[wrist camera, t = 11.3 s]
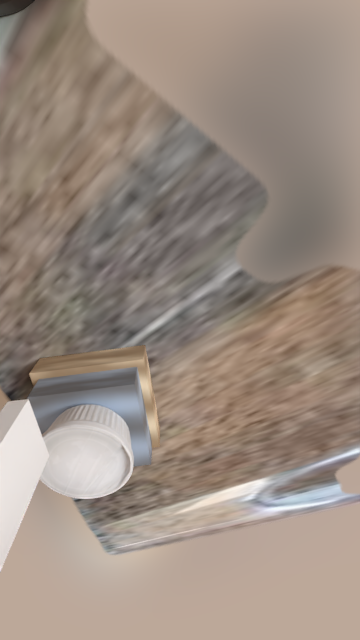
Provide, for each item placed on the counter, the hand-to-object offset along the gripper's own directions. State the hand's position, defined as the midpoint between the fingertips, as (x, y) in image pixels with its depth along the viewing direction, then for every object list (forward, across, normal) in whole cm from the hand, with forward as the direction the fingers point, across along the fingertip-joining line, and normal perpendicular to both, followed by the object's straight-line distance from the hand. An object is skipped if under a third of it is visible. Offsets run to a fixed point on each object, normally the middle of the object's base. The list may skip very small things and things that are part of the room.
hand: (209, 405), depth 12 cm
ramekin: (+23, -14, -20) cm, 33 cm away
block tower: (+31, -14, -20) cm, 39 cm away
